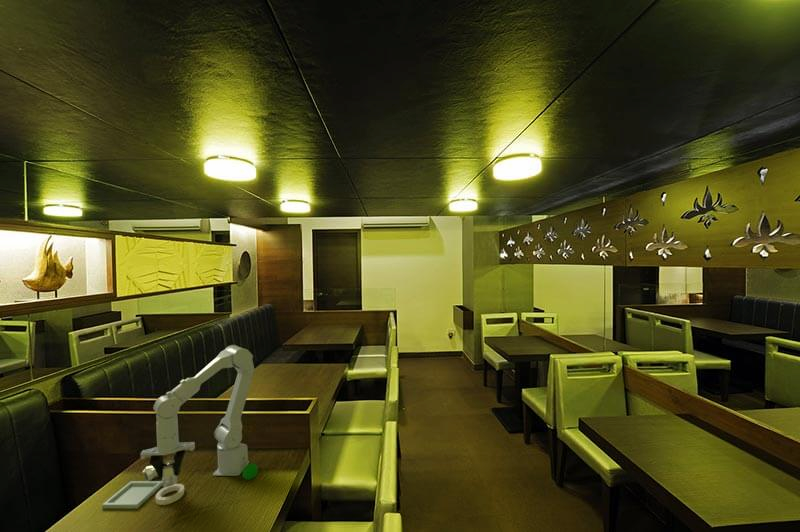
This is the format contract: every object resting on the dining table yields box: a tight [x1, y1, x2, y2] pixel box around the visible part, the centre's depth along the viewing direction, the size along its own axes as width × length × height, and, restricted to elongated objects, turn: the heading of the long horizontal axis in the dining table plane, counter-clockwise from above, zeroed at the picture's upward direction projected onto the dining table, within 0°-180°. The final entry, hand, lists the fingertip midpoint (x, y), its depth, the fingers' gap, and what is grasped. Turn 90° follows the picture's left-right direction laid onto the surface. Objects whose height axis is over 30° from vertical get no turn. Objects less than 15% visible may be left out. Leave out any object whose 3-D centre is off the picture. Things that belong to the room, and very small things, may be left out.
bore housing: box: [155, 483, 185, 506], centre depth 111 cm, size 8×8×2 cm
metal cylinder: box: [161, 459, 178, 488], centre depth 111 cm, size 4×4×6 cm
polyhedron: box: [241, 462, 259, 480], centre depth 120 cm, size 5×5×5 cm
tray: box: [101, 480, 163, 510], centre depth 112 cm, size 11×11×1 cm
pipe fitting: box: [141, 465, 159, 481], centre depth 123 cm, size 8×4×7 cm
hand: (169, 475), depth 111 cm, fingers closed on metal cylinder, 4 cm apart
